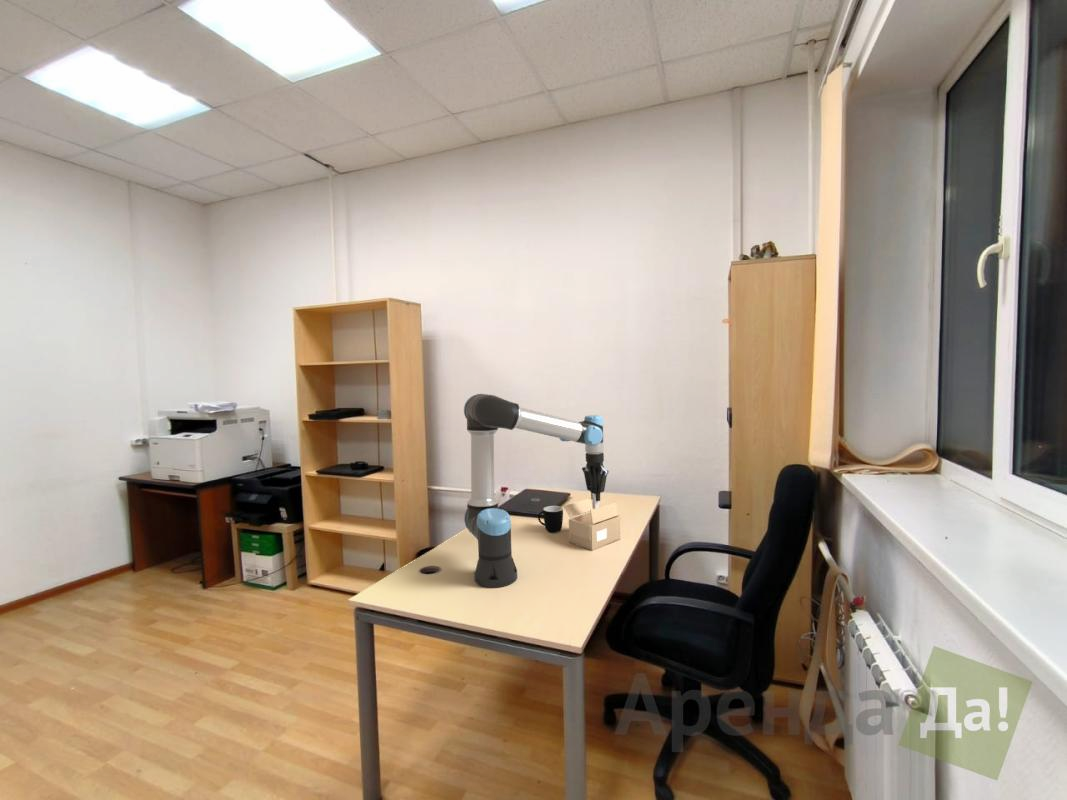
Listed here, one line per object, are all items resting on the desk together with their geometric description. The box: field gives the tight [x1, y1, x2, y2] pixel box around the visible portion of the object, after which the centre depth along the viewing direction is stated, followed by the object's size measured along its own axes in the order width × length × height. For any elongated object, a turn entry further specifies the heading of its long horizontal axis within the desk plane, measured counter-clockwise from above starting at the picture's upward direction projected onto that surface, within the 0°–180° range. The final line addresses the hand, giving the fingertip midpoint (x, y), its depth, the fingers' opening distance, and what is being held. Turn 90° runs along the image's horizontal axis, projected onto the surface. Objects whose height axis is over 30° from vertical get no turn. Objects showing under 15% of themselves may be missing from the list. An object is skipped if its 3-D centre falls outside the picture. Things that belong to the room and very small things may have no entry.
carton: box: [568, 512, 621, 552], centre depth 197 cm, size 18×13×10 cm
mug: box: [537, 505, 564, 534], centre depth 212 cm, size 12×9×10 cm
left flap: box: [563, 497, 593, 518], centre depth 202 cm, size 16×6×1 cm
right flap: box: [589, 501, 619, 524], centre depth 192 cm, size 16×6×1 cm
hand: (596, 508), depth 195 cm, fingers closed
